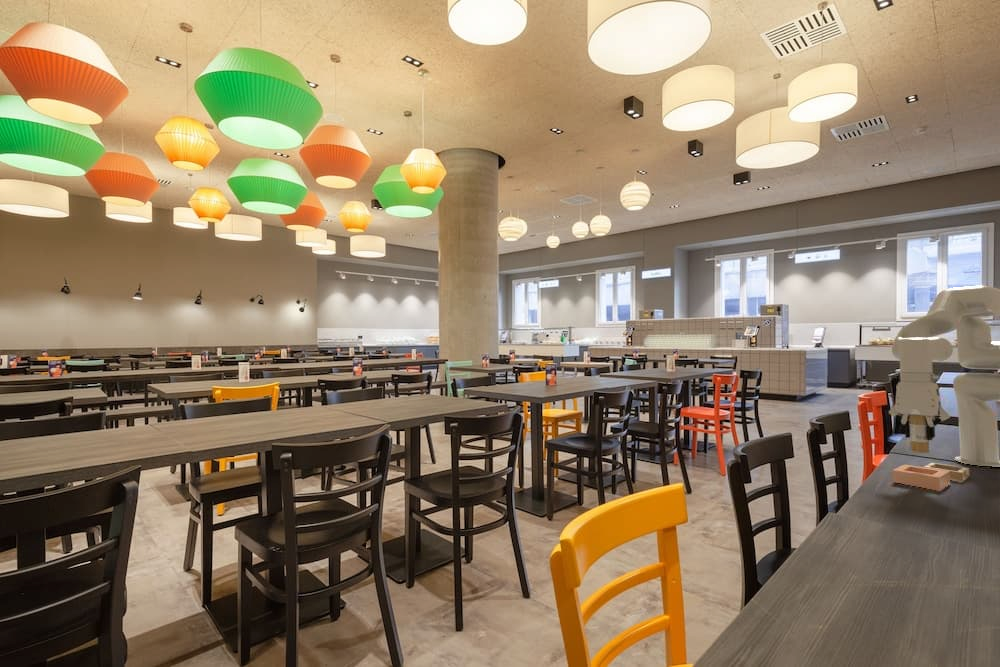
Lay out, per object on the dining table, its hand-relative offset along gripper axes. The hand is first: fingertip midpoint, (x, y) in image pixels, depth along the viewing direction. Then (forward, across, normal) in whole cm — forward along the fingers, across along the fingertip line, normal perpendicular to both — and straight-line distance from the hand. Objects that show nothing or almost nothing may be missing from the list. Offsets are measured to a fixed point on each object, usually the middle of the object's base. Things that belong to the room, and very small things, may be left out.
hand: (919, 437), depth 145 cm
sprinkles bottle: (+5, 0, 0) cm, 5 cm away
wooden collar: (+14, -2, -15) cm, 21 cm away
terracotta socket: (+14, 0, 0) cm, 14 cm away
